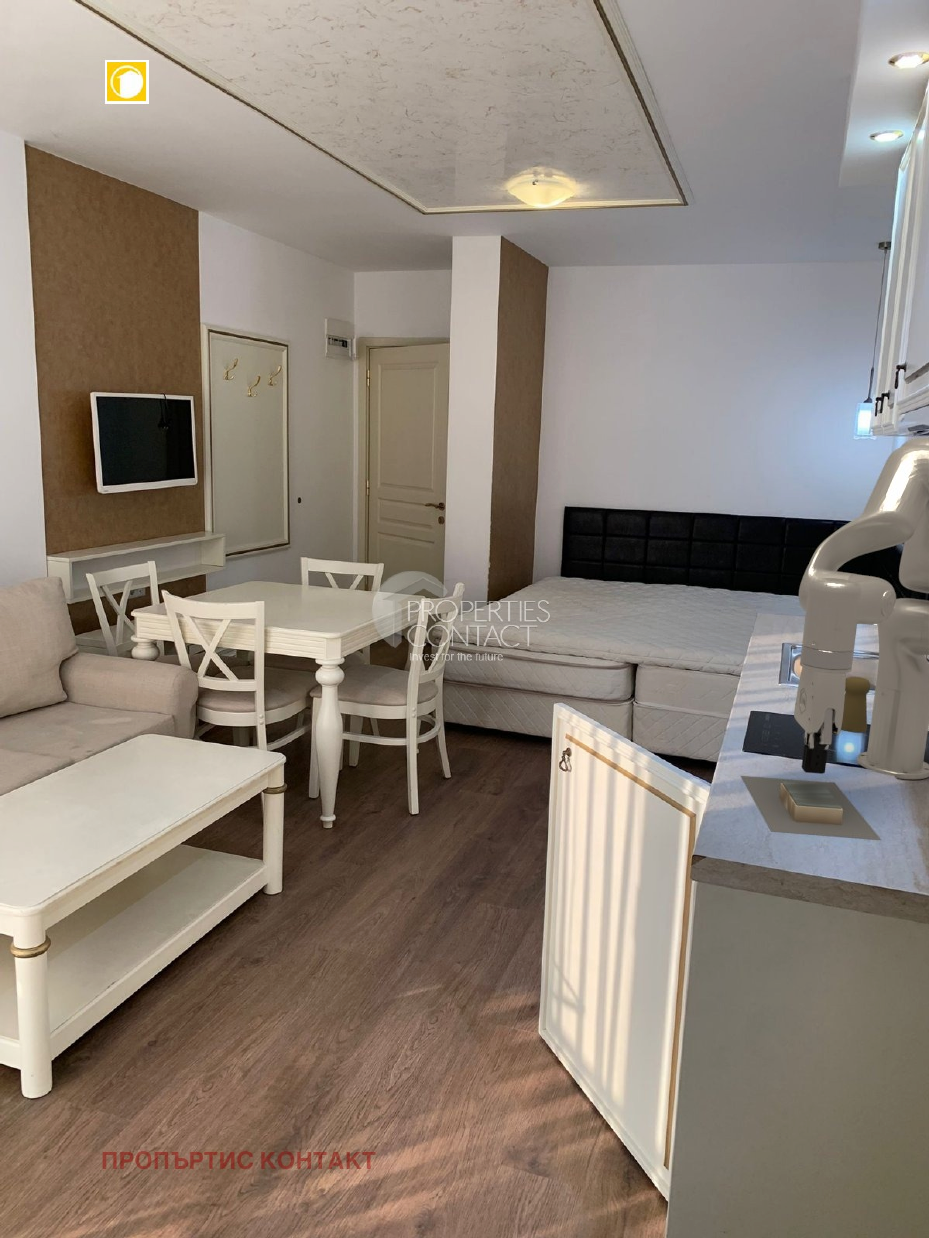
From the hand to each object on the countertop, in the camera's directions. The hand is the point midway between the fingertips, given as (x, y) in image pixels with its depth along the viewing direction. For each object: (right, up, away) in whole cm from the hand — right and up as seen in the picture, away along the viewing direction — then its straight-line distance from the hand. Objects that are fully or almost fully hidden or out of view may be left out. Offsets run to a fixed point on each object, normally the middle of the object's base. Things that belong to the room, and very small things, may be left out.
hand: (813, 771), depth 148 cm
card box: (0, -4, +6) cm, 7 cm away
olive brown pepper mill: (+27, +1, +49) cm, 56 cm away
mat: (0, -7, +3) cm, 7 cm away
